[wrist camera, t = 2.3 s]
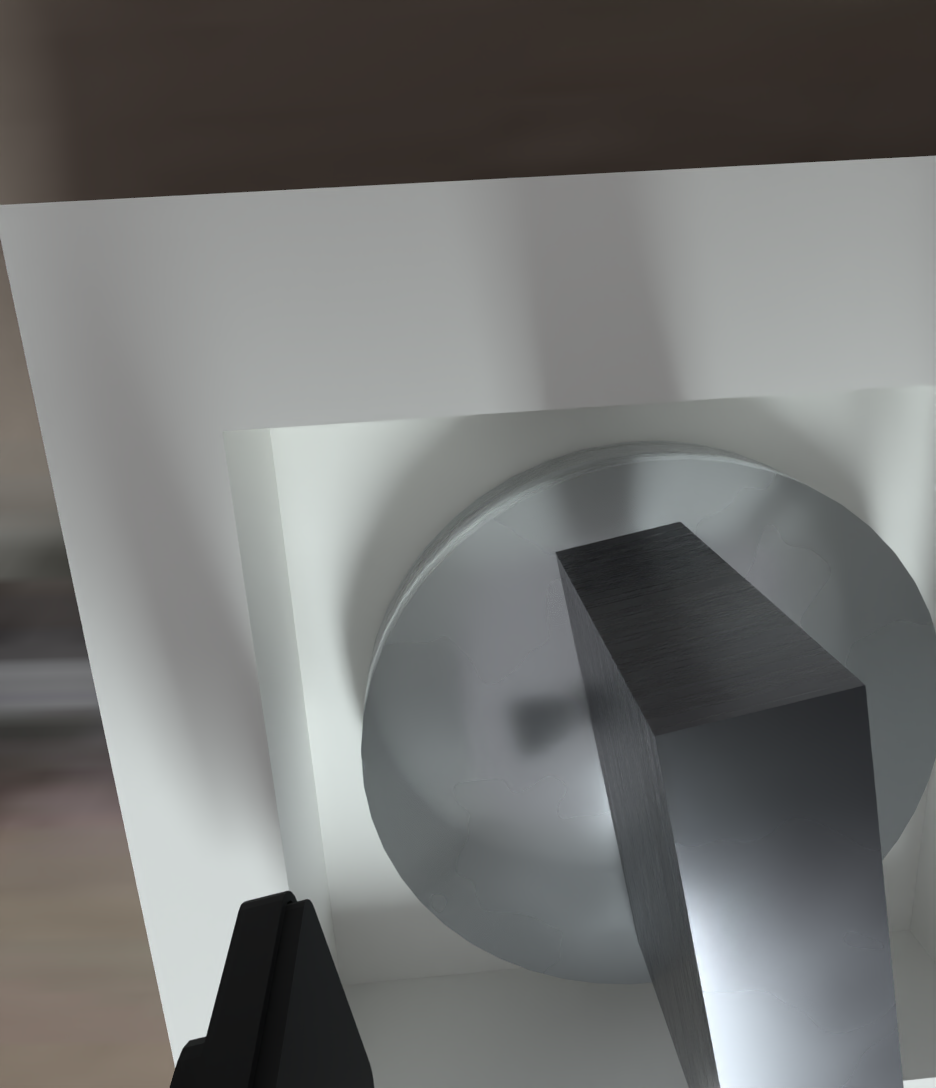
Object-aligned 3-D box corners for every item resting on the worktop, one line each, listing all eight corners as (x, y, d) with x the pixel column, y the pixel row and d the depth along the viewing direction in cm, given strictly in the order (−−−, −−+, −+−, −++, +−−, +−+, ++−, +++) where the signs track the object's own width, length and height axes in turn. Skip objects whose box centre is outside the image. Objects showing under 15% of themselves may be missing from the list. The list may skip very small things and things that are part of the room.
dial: (298, 519, 13) (186, 756, 6) (872, 378, 13) (1337, 475, 6) (438, 972, 16) (458, 1453, 9) (910, 858, 15) (1263, 1263, 9)
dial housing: (1063, 179, 14) (1378, 130, 9) (948, 963, 18) (1118, 1178, 14) (130, 230, 13) (-14, 203, 9) (263, 1031, 18) (215, 1280, 13)
